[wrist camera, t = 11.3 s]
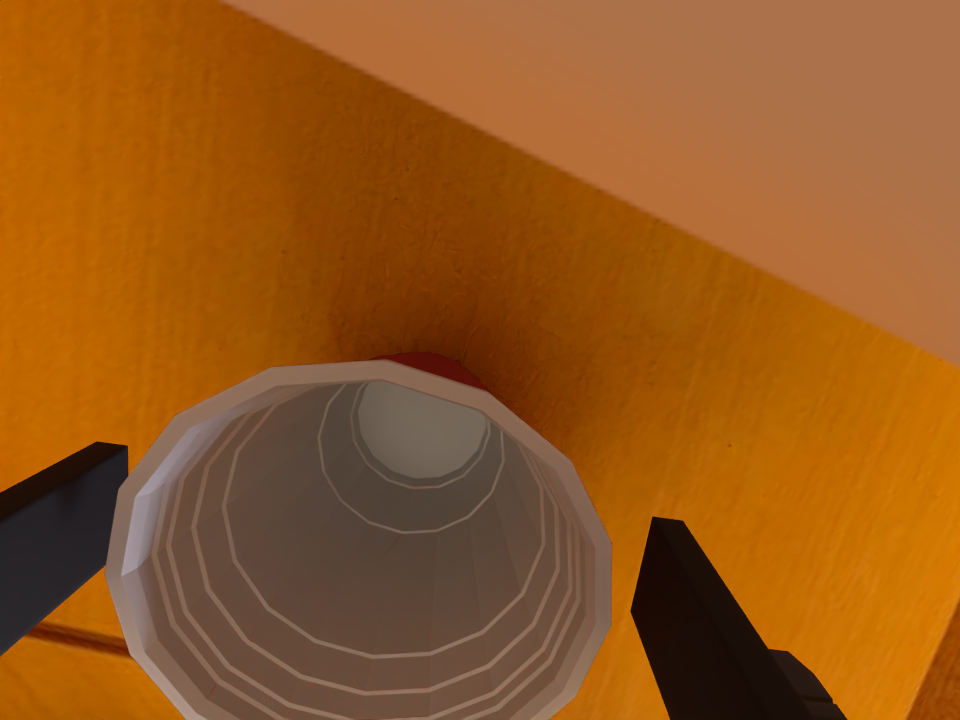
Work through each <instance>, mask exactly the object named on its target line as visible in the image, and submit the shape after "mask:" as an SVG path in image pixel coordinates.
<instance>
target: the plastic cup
mask: <svg viewBox="0 0 960 720" xmlns="http://www.w3.org/2000/svg"><path fill="white" fill-rule="evenodd" d="M611 557H612V543H611V541H610V539H609V537H608V534H607V532H606V530H605V528H604V526H603V524H602V522H601V520H600V518H599V516H598V514H597V512H596V510H595V508H594V506H593V504H592V502H591V500H590V498H589V496H588V494H587V492H586V490H585V488H584V486H583V484H582V482H581V480H580V478H579V476H578V474H577V472H576V470H575V468H574V465H573V463H572V461H571V460H570V459H569V458H567V457H566V456H565V455H564V454H563V453H561V452H560V451H559V450H558V449H557V448H555V447H554V446H553V445H552V444H550V443H549V442H548V441H547V440H546V439H544V438H543V437H542V436H541V435H540V434H538V433H537V432H536V431H535V430H533V429H532V428H531V427H530V426H529V425H527V424H526V423H525V422H524V421H523V420H521V419H520V418H519V417H518V416H517V415H515V414H514V413H513V412H512V411H510V410H509V409H508V408H507V407H506V406H504V405H503V404H502V403H501V402H500V401H498V400H497V399H496V398H495V397H494V396H493V395H492V393H491V392H490V390H488V389H487V388H486V387H485V386H484V385H483V384H482V383H481V382H480V380H479V379H478V378H477V377H475V376H474V375H473V374H472V373H471V372H470V371H468V370H467V369H466V368H465V367H464V366H463V365H461V364H460V363H459V362H458V361H456V360H453V359H450V358H447V357H444V356H441V355H438V354H435V353H432V352H429V351H428V352H412V353H398V354H395V355H382V356H379V357H375V358H372V359H369V360H366V361H354V362H338V363H323V364H308V365H292V366H279V367H272V368H268V369H266V370H264V371H262V372H260V373H258V374H256V375H254V376H252V377H250V378H248V379H246V380H244V381H242V382H240V383H238V384H236V385H234V386H232V387H230V388H228V389H226V390H224V391H222V392H220V393H218V394H216V395H214V396H212V397H210V398H208V399H206V400H204V401H202V402H200V403H198V404H196V405H194V406H192V407H190V408H188V409H186V410H184V411H182V412H180V413H178V414H176V415H175V416H174V418H173V419H172V420H171V422H170V423H169V424H168V425H167V427H166V428H165V429H164V431H163V432H162V433H161V435H160V436H159V437H158V438H157V440H156V441H155V442H154V444H153V445H152V446H151V448H150V449H149V450H148V451H147V453H146V454H145V455H144V457H143V458H142V459H141V461H140V462H139V463H138V464H137V466H136V467H135V468H134V470H133V471H132V472H131V473H130V475H129V476H128V477H127V479H126V480H125V481H124V483H123V484H122V485H121V486H120V488H119V489H118V495H117V501H116V507H115V513H114V519H113V525H112V531H111V537H110V544H109V550H108V556H107V562H106V568H105V577H106V580H107V583H108V587H109V590H110V593H111V596H112V599H113V602H114V605H115V609H116V612H117V615H118V618H119V621H120V624H121V627H122V631H123V634H124V637H125V640H126V643H127V646H128V649H129V653H130V655H131V656H132V657H133V658H134V660H135V661H136V662H137V663H138V664H139V665H140V666H141V668H142V669H143V670H144V671H145V672H146V673H147V675H148V676H149V677H150V678H151V679H152V680H153V682H154V683H155V684H156V685H157V686H158V687H159V689H160V690H161V691H162V692H163V693H164V694H165V696H166V697H167V698H168V699H169V700H170V701H171V703H172V704H173V705H174V706H175V707H176V708H177V710H178V711H179V712H180V713H181V714H182V715H183V716H184V718H185V719H186V720H549V719H550V718H551V717H552V716H553V715H554V714H556V713H557V712H558V711H559V710H560V709H562V708H563V707H564V706H565V705H566V704H567V703H569V702H570V701H571V700H572V699H573V698H575V697H576V695H577V693H578V691H579V689H580V687H581V685H582V683H583V681H584V679H585V677H586V675H587V673H588V671H589V669H590V667H591V665H592V663H593V661H594V659H595V657H596V655H597V653H598V651H599V649H600V647H601V645H602V643H603V641H604V639H605V637H606V635H607V633H608V631H609V629H610V627H611Z"/></svg>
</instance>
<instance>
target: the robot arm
mask: <svg viewBox="0 0 960 720" xmlns="http://www.w3.org/2000/svg"><path fill="white" fill-rule="evenodd" d="M127 477H128V446H126V445H119V444H111V443H104V442H95V443H93V444H91V445H89V446H87V447H86V448H84V449H82V450H80V451H78V452H76V453H74V454H72V455H71V456H69V457H67V458H65V459H63V460H61V461H59V462H57V463H55V464H54V465H52V466H50V467H48V468H46V469H44V470H42V471H40V472H39V473H37V474H35V475H33V476H31V477H29V478H27V479H25V480H24V481H22V482H20V483H18V484H16V485H14V486H12V487H10V488H8V489H7V490H5V491H3V492H1V493H0V656H1V655H2V654H3V653H4V652H6V651H7V650H8V649H9V648H10V647H11V646H13V645H14V644H15V643H16V642H17V641H18V640H20V639H21V638H22V637H23V636H24V635H25V634H26V633H28V632H29V631H30V630H31V629H32V628H33V627H35V626H36V625H37V624H38V623H39V622H40V621H42V620H43V619H44V618H45V617H46V616H47V615H48V614H50V613H51V612H52V611H53V610H54V609H55V608H57V607H58V606H59V605H60V604H61V603H62V602H63V601H65V600H66V599H67V598H68V597H69V596H70V595H72V594H73V593H74V592H75V591H76V590H77V589H79V588H80V587H81V586H82V585H83V584H84V583H85V582H87V581H88V580H89V579H90V578H91V577H92V576H94V575H95V574H96V573H97V572H98V571H99V570H101V569H102V568H103V567H104V566H105V565H106V562H107V556H108V550H109V544H110V537H111V531H112V525H113V519H114V513H115V507H116V501H117V495H118V489H119V488H120V486H121V485H122V484H123V483H124V481H125V480H126V479H127ZM631 614H632V617H633V619H634V622H635V625H636V628H637V630H638V633H639V636H640V638H641V641H642V644H643V647H644V649H645V652H646V655H647V657H648V660H649V663H650V666H651V668H652V671H653V674H654V676H655V679H656V682H657V685H658V687H659V690H660V693H661V695H662V698H663V701H664V704H665V706H666V709H667V712H668V715H669V717H670V720H847V718H846V717H845V716H844V714H843V713H842V712H841V710H840V709H839V707H838V706H837V705H836V704H833V701H832V700H833V699H832V698H831V696H830V695H829V694H828V692H827V691H826V690H825V688H824V687H823V686H822V684H821V683H820V681H819V680H818V679H817V677H816V676H815V675H814V674H813V673H812V672H811V671H810V670H809V669H808V668H806V667H805V666H804V665H803V664H802V663H801V662H800V661H798V660H797V659H796V658H795V657H794V656H793V655H792V654H790V653H789V652H788V651H780V650H773V649H768V648H767V647H766V645H765V644H764V642H763V641H762V639H761V638H760V636H759V635H758V633H757V632H756V630H755V629H754V627H753V626H752V624H751V623H750V621H749V620H748V618H747V617H746V615H745V614H744V612H743V611H742V609H741V608H740V606H739V605H738V603H737V602H736V600H735V599H734V597H733V596H732V594H731V592H730V591H729V589H728V588H727V586H726V585H725V583H724V582H723V580H722V579H721V577H720V576H719V574H718V573H717V571H716V570H715V568H714V567H713V565H712V564H711V562H710V561H709V559H708V558H707V556H706V555H705V553H704V552H703V550H702V549H701V547H700V546H699V544H698V543H697V541H696V540H695V538H694V537H693V535H692V534H691V532H690V531H689V529H688V528H687V526H686V525H685V523H684V522H683V521H681V520H674V519H667V518H659V517H652V521H651V525H650V530H649V534H648V538H647V543H646V547H645V551H644V555H643V560H642V564H641V568H640V572H639V577H638V581H637V585H636V590H635V594H634V598H633V602H632V607H631Z"/></svg>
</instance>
